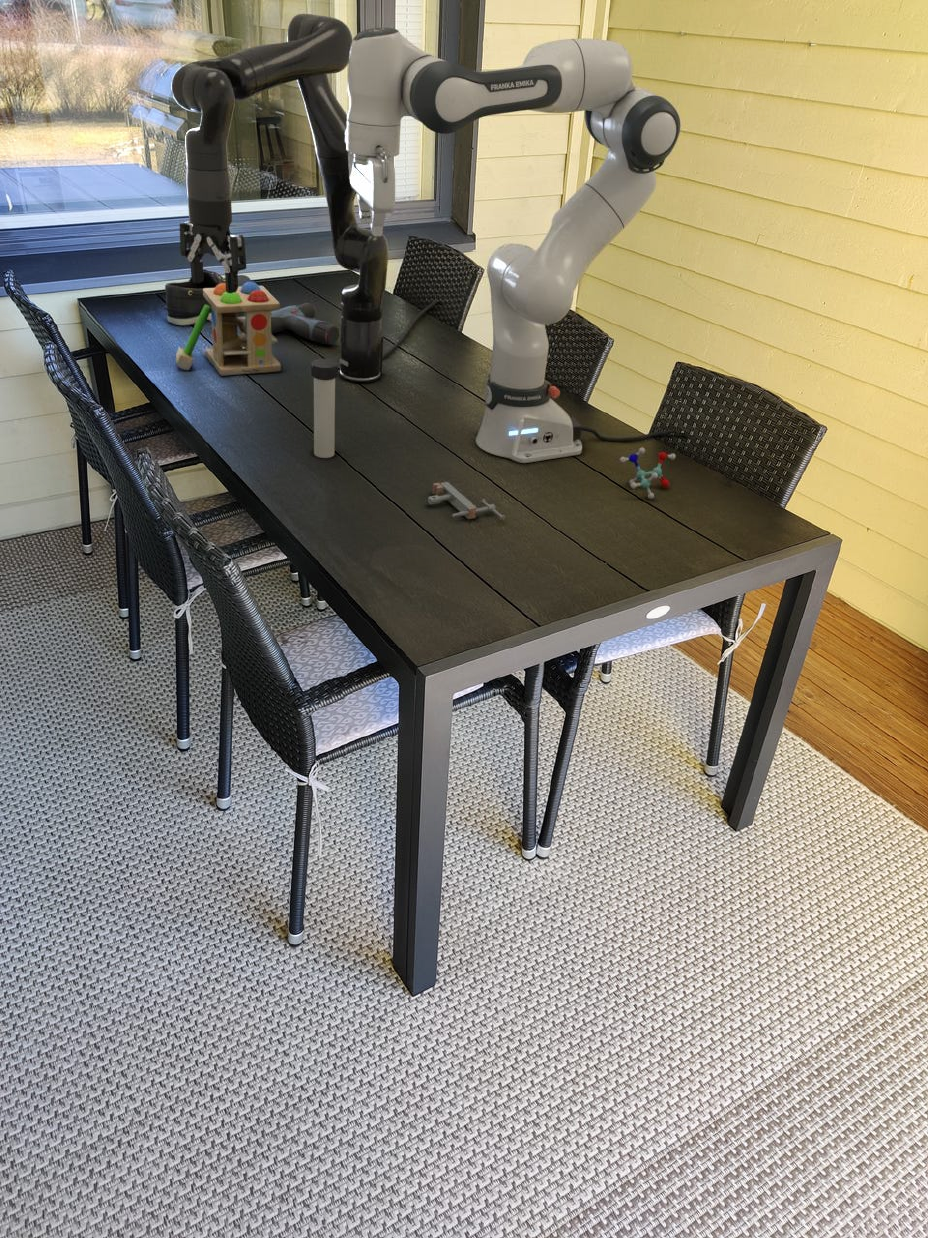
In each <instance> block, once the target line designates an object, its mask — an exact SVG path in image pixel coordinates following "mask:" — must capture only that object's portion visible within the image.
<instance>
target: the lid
mask: <svg viewBox="0 0 928 1238" xmlns="http://www.w3.org/2000/svg"><path fill="white" fill-rule="evenodd" d="M310 370H311V371H310V372H311V373H310V375H311V376H312V377H313V379H314V378H316V379H320V380H331V379H335V380H336V378H337V377H338V376H339V375H338V374H339V365H338V362H337V361H335V360H333V359H330V358H329V359H328V358H317V359H313V360H312V361H311V367H310Z"/></svg>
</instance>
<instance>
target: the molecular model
mask: <svg viewBox="0 0 928 1238" xmlns="http://www.w3.org/2000/svg"><path fill="white" fill-rule="evenodd" d="M645 452H646V449H645V447H640V448H639V449H638V452H636V453H631V454H630V455H629V457H628V456H627V457H625V456H621V457H619V463H621V464H625V463H626V462H628V461H630V462H631V463H633V464H634V466H635V468H636V471H637V472H636V476H635V477H634V478H631V479H629V481H628V483H629V487H630V489H633V490H635V489H636V488H638V487H641V488H643V489H645V490H646V492H647V499H649V500H653V499H654V498H655V494H654V493H653V492H652V491H651V489H650V486H651V482H652V481H653V480H656V479H658V480H659V482H660V485H661V487H662V488H664V489H666V488H668V487H669V486H670V481H669V480H668V479H666V478H665V476H664V475H663V474H662V473H663V470H662V468H661V467H662V464H663V461H664V460H666V459H670V460H672V461H674V460H675V459H676V454H675V453H670V454H667V453H666V452H664V451H661V452H659V453H658V456H657V457H658V459H659V460H658V463H657V466H656V467H654V468H653V469H652V470H650V471H645V470H643V469H641V467H640V465H639V463H638V460H639V456H640V455H643V454H645ZM650 475H651V476H650ZM646 476H650V477H649V478H646ZM638 480H640V482H637V481H638ZM636 482H637V483H636Z"/></svg>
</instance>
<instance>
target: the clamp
mask: <svg viewBox="0 0 928 1238" xmlns="http://www.w3.org/2000/svg"><path fill="white" fill-rule="evenodd" d="M432 494H433V495H431V496H428V497H427V499H428V500H427V502H428V504H429V505H438V504H441V503H442V502H444V501H445V502H446V501H447V502H449V504H451V505H452V506H453V508H455V509H456V510H457V511H459V512H455V513H452V514H451V517H452V518H455V517H456V518H457V517H463V516H464V517H465V518H466V519H468V520H472V519H476V517H477V515H476V514H479V513H484V512H487V513H491V512H493V513H494V514H495V515H497V516H498V517H499V519H500V520H501V521H504V520H506V516H505V515H504V514H501V513H500V512H499V511H498V510H497V509H496V508H497V507H496V505H495V504H494V503H491V504H490V503H488V502H487V501H486V499H485V498H483V499H481V501H480V504H481V505H484V506H483V507H478V508H477V506H476V505H475V504H473V502H472V501H470V500H469V499H468V498H467V497H465V495H463V494H462V493H461V492H460V491H458V489H456V487H454V486H453V485H451V483H450V482H449V481H442V482H434V483H432Z"/></svg>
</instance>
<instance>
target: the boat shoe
mask: <svg viewBox="0 0 928 1238" xmlns="http://www.w3.org/2000/svg"><path fill="white" fill-rule="evenodd" d="M203 274H204V281H203V282H200V283H194V282H193V280H192V277H191V276H190V278H189V279H188V280H187V281H180V282H167V283H166V284H165V285H164V289H165V295H166V296H165V306H164V310H165V311H166V312H167V313H166V318H167V322H168V323H170V324H173V325H176V326H190V325H195V324H196V322H197V320H198V318H199V316H200V314H201V311H202V309H203V307H204V305H208V306H210V307H211V305H210V304H209V302H208V301H207V300H206V299H205V297H204V296H203V289H204V288H215V287H216V286H217V285H218V284H221V283H225V277H223V276H222V275H221V274H219V273H217V272H215V271H212V270H207V269H204V268H203ZM247 282H253V281H252V280H251V278H250V277H249V276H247V275H244V274H238V287H242V286H243V285H244V284H245V283H247ZM209 314H211V310H210V312H209ZM206 321H210V320H209V318H207V320H206Z"/></svg>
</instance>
